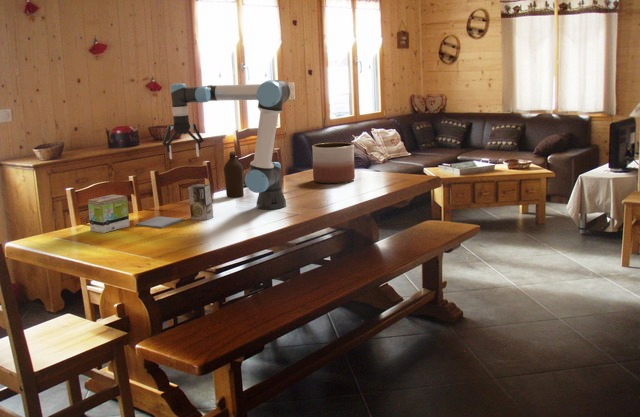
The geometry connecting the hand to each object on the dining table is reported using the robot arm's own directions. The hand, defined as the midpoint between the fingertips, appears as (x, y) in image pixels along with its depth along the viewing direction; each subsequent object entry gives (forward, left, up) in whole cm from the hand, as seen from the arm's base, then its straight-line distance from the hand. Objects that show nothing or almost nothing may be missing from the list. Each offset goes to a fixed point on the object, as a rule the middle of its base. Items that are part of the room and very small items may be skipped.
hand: (184, 157), depth 339 cm
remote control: (+9, -70, -28) cm, 75 cm away
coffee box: (-18, +13, -27) cm, 35 cm away
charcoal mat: (-5, +27, -27) cm, 39 cm away
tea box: (+10, +44, -27) cm, 53 cm away
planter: (-33, -98, -27) cm, 107 cm away
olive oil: (-2, -37, -27) cm, 46 cm away
